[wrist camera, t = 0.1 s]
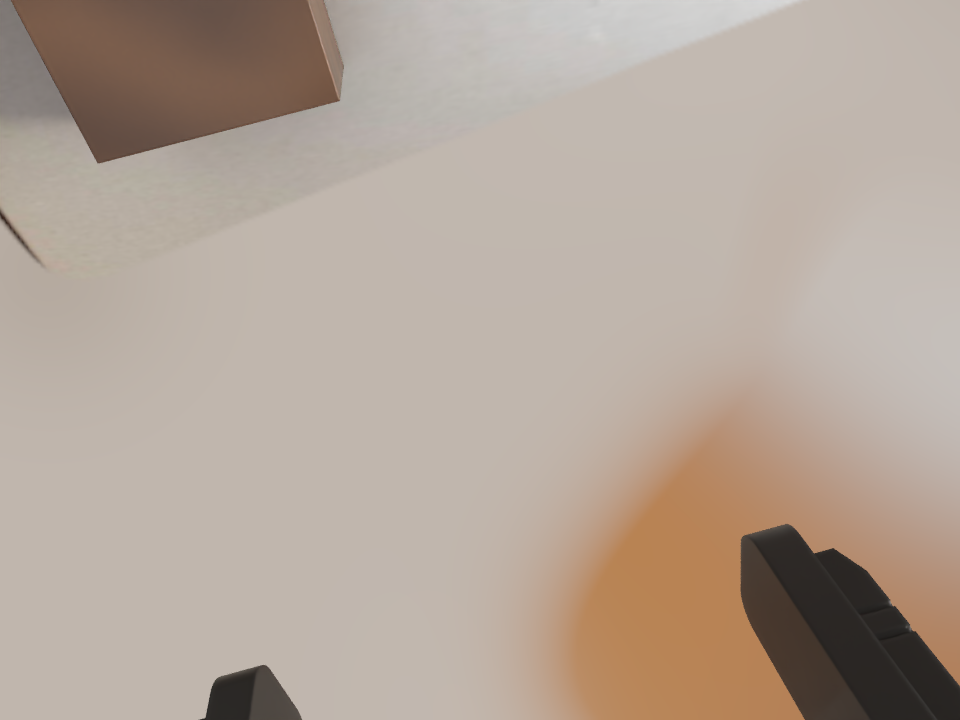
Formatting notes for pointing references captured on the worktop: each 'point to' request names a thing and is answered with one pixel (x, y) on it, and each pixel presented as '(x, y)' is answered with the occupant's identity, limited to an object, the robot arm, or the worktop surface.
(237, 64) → the cabinet
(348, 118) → the worktop surface
